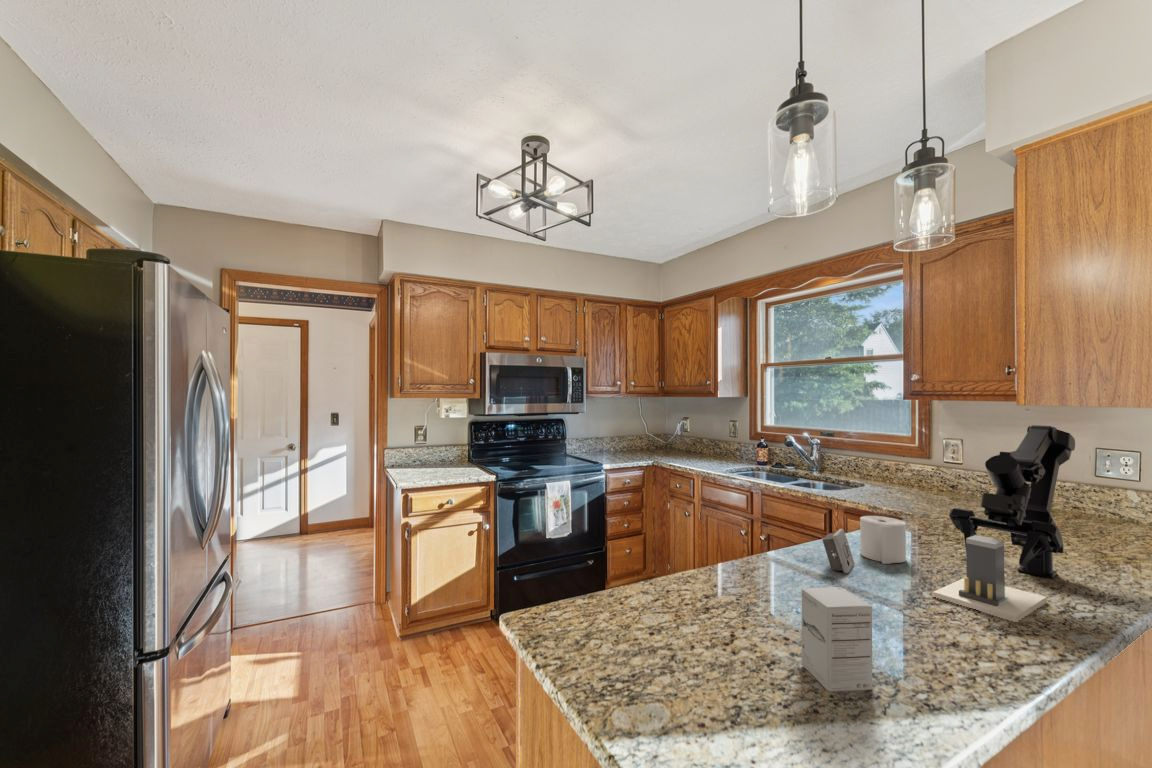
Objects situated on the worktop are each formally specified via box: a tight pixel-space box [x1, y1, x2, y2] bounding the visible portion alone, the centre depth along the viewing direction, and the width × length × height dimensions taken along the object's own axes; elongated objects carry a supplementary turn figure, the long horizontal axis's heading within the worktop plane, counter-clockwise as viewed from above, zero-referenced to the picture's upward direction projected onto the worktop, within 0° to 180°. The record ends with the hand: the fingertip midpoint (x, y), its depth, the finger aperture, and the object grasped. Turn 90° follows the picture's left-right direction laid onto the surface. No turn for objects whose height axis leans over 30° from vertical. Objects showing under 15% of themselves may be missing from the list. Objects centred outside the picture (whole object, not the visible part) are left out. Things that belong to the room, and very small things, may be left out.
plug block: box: [965, 534, 1006, 601], centre depth 105 cm, size 5×5×12 cm
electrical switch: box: [822, 528, 855, 574], centre depth 126 cm, size 9×5×9 cm, turn 141°
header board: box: [932, 576, 1048, 623], centre depth 106 cm, size 18×14×5 cm
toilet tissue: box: [859, 515, 907, 564], centre depth 134 cm, size 11×12×10 cm
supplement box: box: [801, 586, 873, 693], centre depth 76 cm, size 7×7×13 cm
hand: (993, 558), depth 107 cm, fingers open, 9 cm apart
